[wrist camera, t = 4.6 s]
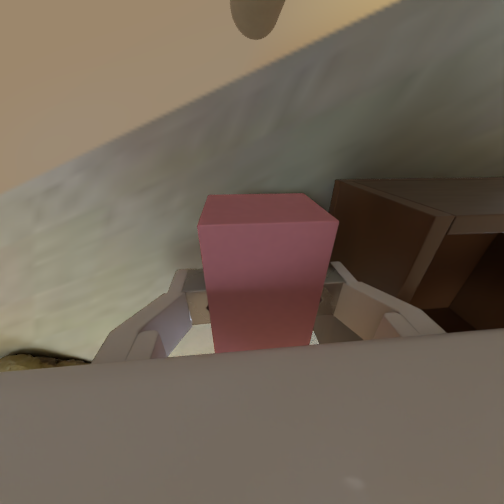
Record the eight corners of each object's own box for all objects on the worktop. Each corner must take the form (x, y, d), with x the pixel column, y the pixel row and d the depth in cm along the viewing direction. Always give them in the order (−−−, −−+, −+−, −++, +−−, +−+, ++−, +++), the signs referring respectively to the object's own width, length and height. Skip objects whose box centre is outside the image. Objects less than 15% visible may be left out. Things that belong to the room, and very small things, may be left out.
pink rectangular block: (207, 194, 9) (196, 225, 6) (303, 192, 9) (340, 221, 6) (219, 306, 13) (215, 361, 10) (288, 301, 13) (307, 353, 10)
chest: (335, 179, 14) (436, 216, 7) (528, 176, 15) (766, 205, 9) (307, 317, 21) (346, 404, 14) (444, 306, 22) (540, 380, 15)
